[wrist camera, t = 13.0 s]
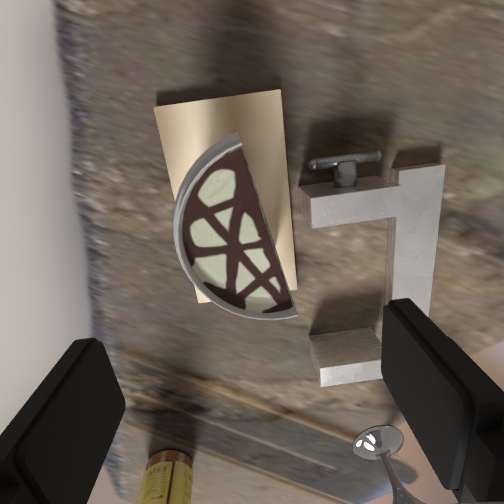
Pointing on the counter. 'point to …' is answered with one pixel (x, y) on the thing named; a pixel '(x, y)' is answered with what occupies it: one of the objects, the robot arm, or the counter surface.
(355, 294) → the counter surface
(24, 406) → the robot arm
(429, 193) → the vise
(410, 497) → the wine glass
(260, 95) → the light wood flat board
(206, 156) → the food container
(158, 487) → the sauce bottle
